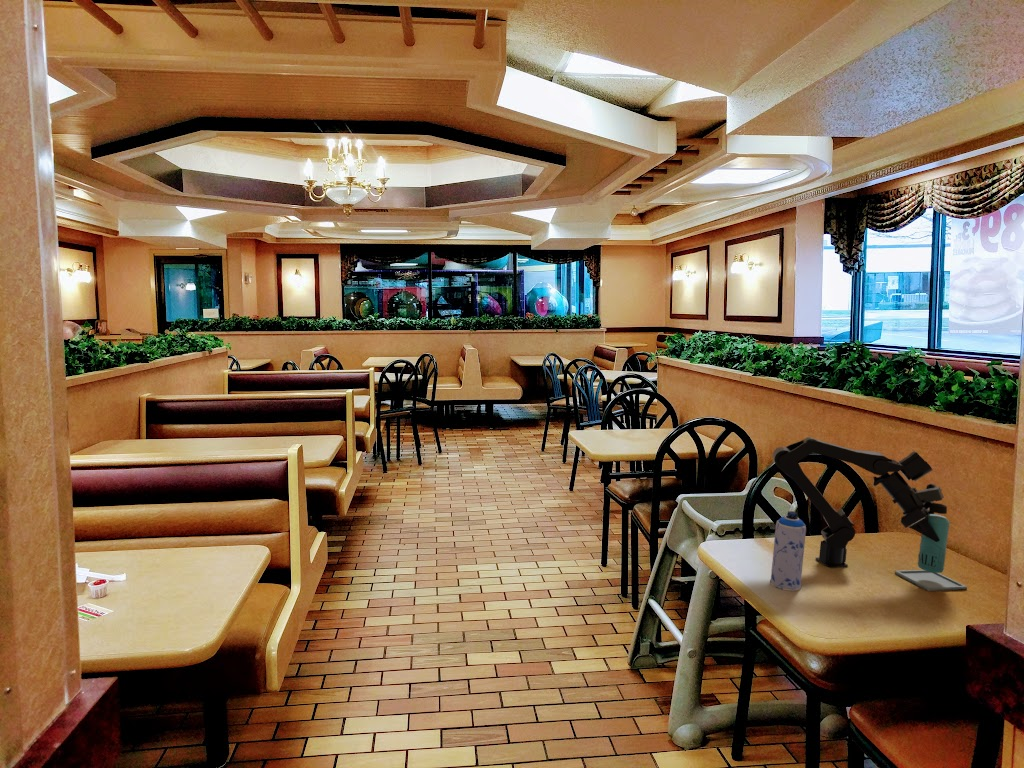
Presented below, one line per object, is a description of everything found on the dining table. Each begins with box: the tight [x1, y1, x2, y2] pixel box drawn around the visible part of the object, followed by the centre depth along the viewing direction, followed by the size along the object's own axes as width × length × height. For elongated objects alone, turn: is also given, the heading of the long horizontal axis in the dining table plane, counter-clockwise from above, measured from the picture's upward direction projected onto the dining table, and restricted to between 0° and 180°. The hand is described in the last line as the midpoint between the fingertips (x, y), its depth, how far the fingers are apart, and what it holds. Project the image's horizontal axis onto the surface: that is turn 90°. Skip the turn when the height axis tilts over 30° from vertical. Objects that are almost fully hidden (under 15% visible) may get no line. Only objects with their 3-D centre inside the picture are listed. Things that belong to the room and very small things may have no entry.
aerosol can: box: [769, 510, 807, 592], centre depth 182 cm, size 8×8×20 cm
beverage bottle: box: [917, 502, 951, 574], centre depth 189 cm, size 6×7×20 cm
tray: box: [894, 569, 968, 592], centre depth 191 cm, size 12×12×1 cm
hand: (940, 538), depth 188 cm, fingers closed on beverage bottle, 6 cm apart
